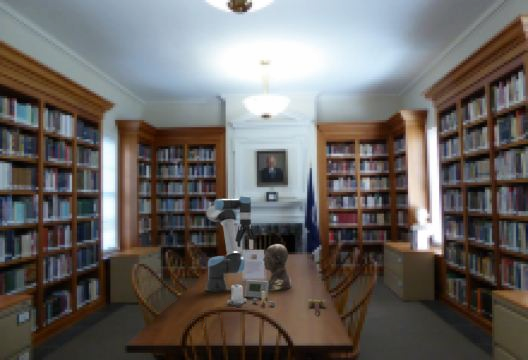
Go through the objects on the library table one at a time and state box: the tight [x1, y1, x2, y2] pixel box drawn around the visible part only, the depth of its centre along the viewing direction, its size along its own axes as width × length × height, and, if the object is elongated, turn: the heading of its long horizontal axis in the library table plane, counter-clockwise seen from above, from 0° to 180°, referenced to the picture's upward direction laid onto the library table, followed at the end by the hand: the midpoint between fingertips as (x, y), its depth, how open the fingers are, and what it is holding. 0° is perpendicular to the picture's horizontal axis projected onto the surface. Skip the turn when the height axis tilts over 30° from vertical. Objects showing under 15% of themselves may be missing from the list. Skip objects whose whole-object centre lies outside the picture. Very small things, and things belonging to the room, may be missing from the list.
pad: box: [227, 301, 247, 307], centre depth 244 cm, size 8×8×1 cm
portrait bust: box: [263, 243, 292, 291], centre depth 294 cm, size 21×35×31 cm, turn 174°
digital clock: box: [244, 279, 269, 299], centre depth 259 cm, size 16×9×11 cm, turn 58°
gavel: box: [307, 298, 326, 316], centre depth 226 cm, size 21×5×10 cm
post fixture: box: [252, 291, 275, 307], centre depth 241 cm, size 15×2×8 cm, turn 58°
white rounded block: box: [226, 283, 247, 304], centre depth 244 cm, size 12×6×11 cm, turn 109°
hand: (245, 250), depth 261 cm, fingers open, 13 cm apart
